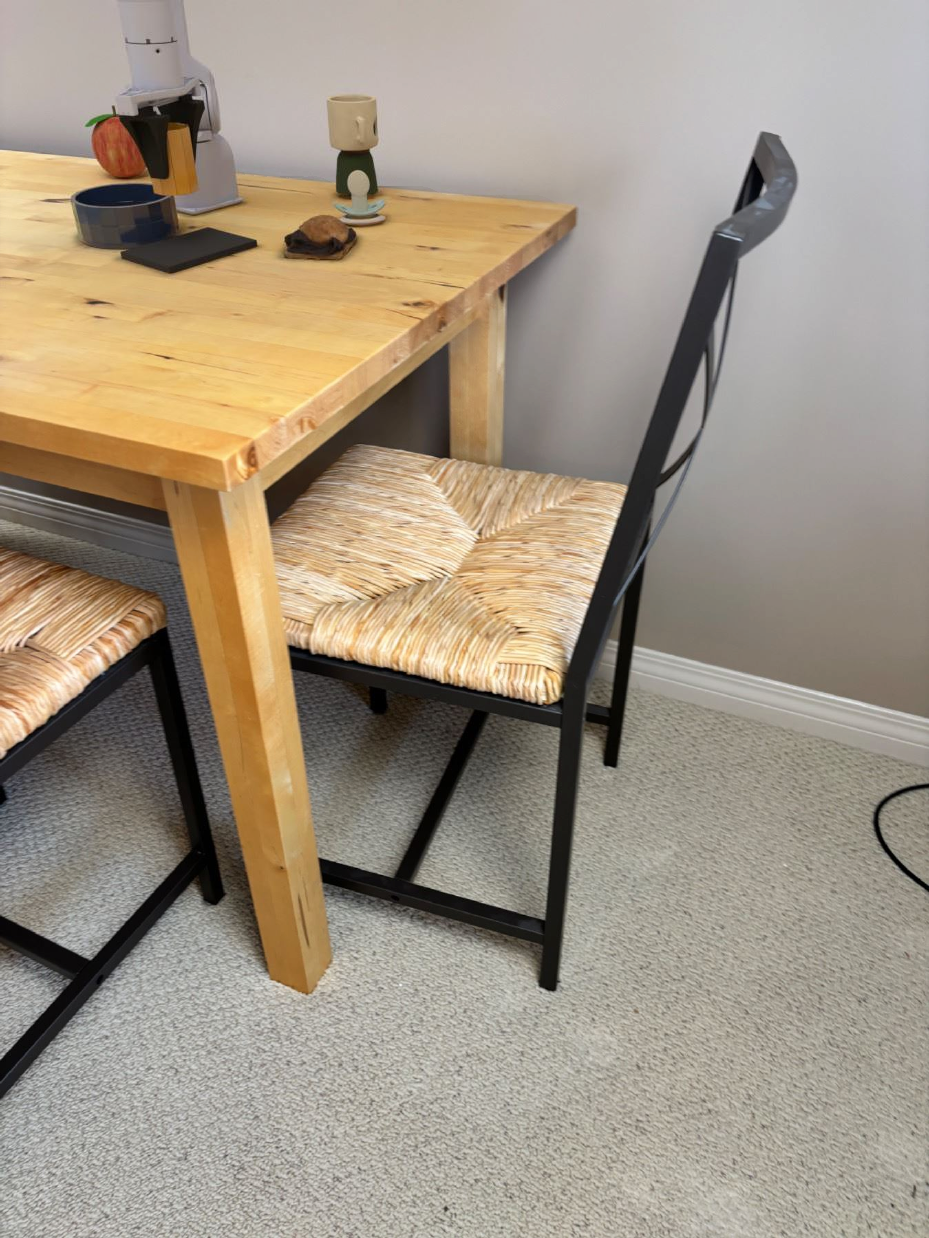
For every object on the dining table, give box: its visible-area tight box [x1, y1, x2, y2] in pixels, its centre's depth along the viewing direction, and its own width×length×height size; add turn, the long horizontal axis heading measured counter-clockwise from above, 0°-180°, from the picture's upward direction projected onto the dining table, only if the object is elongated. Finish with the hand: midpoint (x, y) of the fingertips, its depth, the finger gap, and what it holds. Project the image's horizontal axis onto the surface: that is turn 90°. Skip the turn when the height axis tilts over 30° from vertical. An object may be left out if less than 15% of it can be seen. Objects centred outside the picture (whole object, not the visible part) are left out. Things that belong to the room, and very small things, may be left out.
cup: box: [150, 122, 199, 196], centre depth 112 cm, size 5×6×7 cm
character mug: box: [326, 93, 379, 196], centre depth 137 cm, size 11×7×13 cm, turn 22°
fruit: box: [84, 104, 147, 178], centre depth 147 cm, size 9×10×10 cm
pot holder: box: [119, 226, 258, 274], centre depth 119 cm, size 14×10×1 cm
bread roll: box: [283, 214, 358, 261], centre depth 120 cm, size 11×8×4 cm
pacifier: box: [332, 170, 387, 226], centre depth 128 cm, size 7×6×6 cm
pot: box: [70, 182, 181, 250], centre depth 123 cm, size 13×13×5 cm
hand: (173, 172), depth 113 cm, fingers closed on cup, 5 cm apart
